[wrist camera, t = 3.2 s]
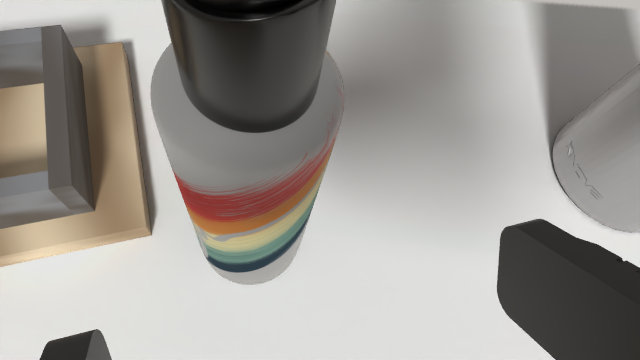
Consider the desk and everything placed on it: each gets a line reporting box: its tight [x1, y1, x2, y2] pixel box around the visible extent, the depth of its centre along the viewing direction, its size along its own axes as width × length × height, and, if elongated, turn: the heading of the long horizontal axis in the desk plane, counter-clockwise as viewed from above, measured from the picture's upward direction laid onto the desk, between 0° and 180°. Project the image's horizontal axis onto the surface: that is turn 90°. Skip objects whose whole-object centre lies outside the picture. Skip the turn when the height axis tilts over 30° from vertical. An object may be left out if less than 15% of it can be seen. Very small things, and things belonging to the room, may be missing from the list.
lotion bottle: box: [151, 0, 344, 285], centre depth 18 cm, size 6×6×20 cm
